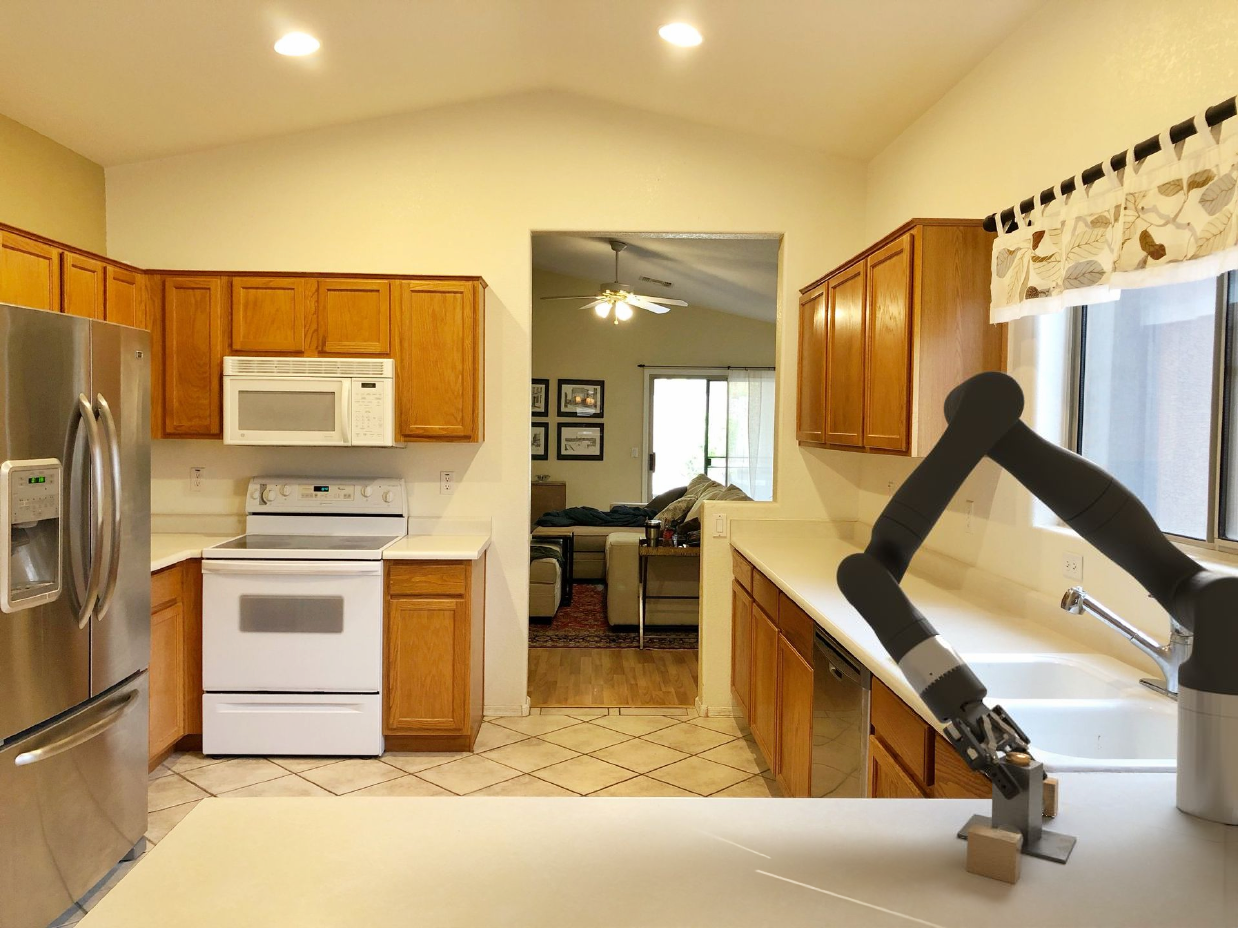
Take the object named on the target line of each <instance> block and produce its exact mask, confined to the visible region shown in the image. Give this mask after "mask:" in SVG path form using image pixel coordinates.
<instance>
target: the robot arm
mask: <svg viewBox="0 0 1238 928" xmlns="http://www.w3.org/2000/svg"><path fill="white" fill-rule="evenodd" d="M1025 403H1026V402H1025V394H1024V389H1023V388H1022V387H1021V385H1020V383H1019V382H1018V381H1017V380H1016V379H1015V378H1014V377H1013V376H1012V375H1010V374H1007V373H1006V372H1002V371H999V370H998V371H997V370H991V371H984V372H980V373H976V374H974V375H972V376H971V377H969V378H968V379H966V380H964V381H963V382H961V383H959V384H958V385H957V386H955V387H954V388H953V389H952V390H951V391H950V392H949V393H948V394H947V396H946V397H945V399H944V402H943V414H944V419H945V421H946V423H947V427H946V429H945V430H944V432H943V434H942V435H941V436H940V438H939V439H938V440H937V442H936V444H935V445H934V446H933V448H932V449H931V450H930V452H929V453H928V454H927V455H926V456H925V457H924V458H923V460H922V461H921V462H920V463H919V464H918V466H916V468H915V469H914V470H912V472H911V474H910V475H908V477H907V478H906V479H905V480H904V482H903V483H902V484H901V485H899V486H900V487H898V489H897V490H896V492H895V493H894V494H893V496H892V497H891V498H890V499H889V501H888V503H887V504H886V506H885V507H884V509H883V510H882V512H881V513H880V514H879V516H878V517H877V519H876V521H875V522H874V525H873V526H872V529H871V533H870V534H871V535H870V539H869V540H870V541H869V542H868V545H867V546H866V548H865V549H864V551H863V552H856V553H852V554H850V555H847V556H846V557H845V558H843V559H842V561H840V563H839V564H838V566H837V568H836V569H837V570H836V584H837V588H838V589H839V591H840V592H841V594H842V596H844V598H845V599H846V601H847V603H849V604H850V605H851V606H852V607H853V608H854V609H855V610H856V611H857V612H858V614H859V615H860V616H861V617H862V619H863V620H864V621H865V622H866V623H867V625H868V626H870V628H871V629H872V631H873V632H874V634H875V636H876V637H877V640H878V641H879V643H880V644H881V646H882V647H883V648H884V650H885V651H886V652H887V654H888V655H889V656H890V658H892V661H894V662H895V664H896V665H897V667H898V668H899V669H900V671H901V673H902V674H903V676H904V679H906V681H907V683H908V684H909V685H910V686H911V688H912V689H913V690H914V692H915V693H916V694H917V695H918V697H919V698H920V699H921V701H922V702H923V704H924V705H926V707H927V708H928V710H929V711H930V712H931V713H932V715H933V716H934V718H935V719H936V720H937V721H938V722H939V723H940V724H943V725H944V724H946V726H945V727H944V728H942V732H943V734H944V735H945V737H946V738H947V740H948V741H949V743H951V745H952V746H953V747H954V749H955V750H956V752H957V753H958V754H959V756H960V757H961V758H962V760H963V761H964V762H965V764H966V765H967V767H968V768H969V769H970V771H972V772H974V773H976V772H977V771H979V772H981V773H982V774H984V775H985V774H986V776H988V778H989V779H990V780H991V781H992V784H993V783H994V784H995V785H996V787H997V788H998V789H999V791H1000V792H1001V793H1002V794H1003V796H1004V797H1005V798H1006V799H1007V800H1011V799H1013V798H1014V797H1016V796H1017V795H1018V794H1020V793H1021V792H1022V788H1021V786H1020V785H1019V784H1018V783H1017V781H1016V780H1015V779H1014V778H1013V776H1012V775H1011V774H1010V773H1009V771H1008V770H1007V769H1006V767H1005V766H1004V765H1003V764H1002V763H1001V764H999V763H1000V760H999V758H1000V757H999V755H998V753H997V752H1002V753H1003V754H1004V755H1006V753H1007V752H1018V753H1023V754H1027V755H1029V756H1030V757H1031V760H1033V761H1037V759H1035V758H1034V756H1033V755H1032V754H1031V752H1029V750H1030V748H1029V746H1028V745H1030V744H1031V740H1030V737H1028V736H1027V735H1026V733H1025V732H1024V731H1023V730H1022V729H1021V727H1019V725H1018V724H1017V723H1016V722H1015V720H1013V718H1012V717H1011V716H1010V715H1009V713H1007V710H1005V709H1004V707H1003V706H1001V705H1000V704H996V705H995V706H993V707H991V708H989V707H988V706H987V705H986V704H985V703H984V700H983V699H984V698H986V697H987V695H988V689H987V687H986V686H985V685H984V684H983V682H982V681H981V680H980V679H979V678H978V676H977V675H976V674H975V672H973V670H972V669H971V668H970V667H969V666H968V664H967V663H966V662H965V661H964V660H963V658H962V657H961V656H960V655H959V654H958V652H957V651H956V650H955V649H954V647H952V646H951V644H950V643H948V642H947V641H946V640H945V639H944V638H943V637H942V636H941V635H940V633H939V632H938V631H937V630H936V628H935V627H934V625H932V624H931V622H930V621H929V620H928V618H927V617H926V616H924V614H923V613H922V612H921V611H920V610H919V609H918V607H916V606H915V605H914V604H913V603H912V602H911V600H910V599H909V598H908V596H907V595H906V592H904V591H903V589H902V587H901V586H900V583H901V582H902V580H903V579H904V576H905V574H906V572H907V570H908V567H909V566H910V563H911V561H912V559H913V557H914V555H915V554H916V552H917V551H918V550H919V549H920V547H921V545H922V544H923V543H924V541H925V540H926V539H927V537H928V536H929V534H930V533H931V531H932V530H933V528H934V526H935V525H936V524H937V522H938V520H939V519H940V518H941V516H942V514H944V512H945V510H946V508H947V507H948V505H949V504H950V503H951V501H952V500H953V498H954V496H956V494H957V492H958V491H959V489H960V487H962V485H963V484H964V482H965V481H966V479H967V478H968V477H969V475H970V474H971V473H972V472H973V470H974V469H975V468H976V466H977V465H978V464H979V463H981V460H982V459H983V458H984V457H985V456H986V457H988V458H989V459H991V460H992V461H993V462H995V463H996V464H998V465H999V466H1000V467H1001V468H1003V469H1005V471H1007V472H1008V473H1009V474H1010V475H1011V476H1012V477H1014V479H1016V480H1017V481H1018V482H1019V483H1020V484H1021V485H1022V486H1023V487H1025V489H1026V490H1028V491H1029V492H1030V493H1031V494H1032V495H1033V496H1034V497H1036V498H1037V499H1038V500H1039V501H1040V502H1042V504H1044V505H1045V506H1046V507H1047V508H1048V509H1050V511H1052V512H1053V513H1054V515H1055V516H1057V517H1058V518H1059V519H1060V520H1061V521H1063V522H1064V524H1066V525H1067V526H1069V528H1071V530H1073V531H1074V532H1075V533H1076V534H1078V536H1080V537H1081V538H1082V539H1084V541H1086V542H1088V543H1089V544H1090V545H1091V546H1092V547H1094V548H1095V549H1096V550H1097V551H1098V552H1100V553H1102V554H1103V555H1104V556H1105V557H1106V558H1108V559H1109V560H1110V561H1111V562H1113V563H1114V564H1115V565H1117V566H1118V567H1120V568H1121V569H1123V570H1124V571H1125V572H1126V573H1128V574H1129V575H1130V576H1131V577H1133V578H1134V579H1135V580H1136V581H1137V582H1138V583H1139V584H1140V585H1141V586H1142V587H1143V588H1144V589H1145V590H1146V592H1147V593H1149V595H1150V596H1152V598H1153V599H1155V601H1156V602H1157V603H1158V604H1159V605H1160V606H1161V607H1162V608H1163V609H1164V610H1165V611H1166V613H1168V615H1169V616H1170V617H1171V618H1172V619H1173V620H1174V621H1175V622H1176V623H1177V624H1178V625H1179V626H1181V627H1183V628H1184V629H1185V630H1187V631H1188V632H1191V633H1193V634H1192V645H1191V653H1190V656H1189V657H1188V659H1187V660H1185V661H1183V662H1181V663H1180V664H1179V665H1178V667H1177V703H1176V704H1177V714H1176V717H1177V724H1176V727H1177V729H1176V732H1177V733H1176V777H1175V778H1176V782H1175V783H1176V785H1175V787H1176V792H1175V797H1176V799H1175V805H1176V807H1177V809H1179V810H1180V811H1182V812H1184V813H1186V814H1188V815H1189V816H1193V817H1196V818H1198V819H1199V818H1200V819H1203V820H1206V821H1211V822H1216V823H1220V824H1227V825H1228V824H1229V825H1236V826H1238V576H1237V575H1232V574H1225V573H1219V572H1214V571H1212V570H1210V569H1208V568H1205V567H1204V566H1203V565H1201V564H1200V563H1198V562H1197V561H1195V560H1194V559H1193V558H1191V557H1190V556H1189V555H1187V554H1186V553H1185V552H1183V551H1182V550H1181V549H1179V547H1177V546H1175V544H1173V543H1172V541H1170V540H1169V539H1168V537H1167V536H1166V535H1165V534H1164V533H1163V531H1162V530H1161V529H1160V526H1158V523H1157V522H1156V520H1155V519H1154V517H1153V516H1152V515H1151V512H1150V511H1149V510H1148V508H1147V506H1145V504H1144V502H1142V501H1141V499H1140V498H1139V497H1138V496H1136V494H1134V493H1133V492H1132V490H1130V489H1129V488H1128V487H1127V486H1126V485H1125V484H1123V483H1122V482H1121V481H1119V479H1117V478H1116V477H1115V476H1114V475H1112V474H1111V473H1110V472H1109V471H1107V470H1106V469H1105V468H1103V467H1102V466H1100V465H1099V464H1098V463H1095V462H1093V461H1092V460H1090V459H1088V458H1086V457H1084V456H1082V455H1080V454H1078V453H1076V452H1074V451H1071V450H1070V449H1068V448H1065V447H1064V446H1063V447H1062V446H1061V445H1058V444H1057V443H1054V442H1052V441H1050V440H1048V439H1047V438H1044V437H1043V436H1042V435H1041V434H1039V433H1038V432H1037V431H1035V430H1034V429H1033V428H1031V427H1030V426H1029V425H1028V424H1027V423H1026V422H1025V421H1024V420H1023V419H1022V418H1021V416H1022V414H1023V411H1024V410H1025ZM998 764H999V765H998ZM1048 777H1049V776H1048V773H1047V772H1046V771H1045V770H1044V769H1043V781H1044V780H1046V779H1047V778H1048Z"/></svg>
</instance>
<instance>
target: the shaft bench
mask: <svg viewBox="0 0 1238 928" xmlns="http://www.w3.org/2000/svg"><path fill="white" fill-rule="evenodd" d="M1057 811H1058V812H1059V779H1058V778H1054V777H1049V776H1048V778H1047V779H1046V780H1044V781H1043V799H1042V814H1043V815H1047V816H1055V814H1056V813H1057ZM1057 814H1058V813H1057ZM1057 814H1056V815H1057ZM1043 815H1042V816H1043ZM1047 816H1046V817H1047ZM1055 817H1056V816H1055ZM957 836H958V837H957ZM956 837H957V838H960V837H964V838H966V839H965V840H967V842H966V843H967V849H966V851H967V853H966V872H968V873H972V874H974V875H975V874H976V875H980V876H984V877H987V878H991V879H994V880H998V881H1002V882H1005V883H1010V884H1013V885H1016V884H1017V882H1018V880H1019V878H1020V877H1021V871H1022V870H1021V867H1022V854H1024V855H1029V856H1033V857H1036V858H1042V859H1044V860H1048V861H1052V862H1056V863H1057V862H1058V863H1061V864H1066V862H1067V861H1068V859H1069V857H1070V855H1071V852H1072V850H1073V848H1074V846H1075V844H1076V843H1077V836H1072V835H1070V834H1069V835H1068V834H1064V833H1059V832H1054V831H1050V830H1045V829H1043V828H1042V837H1040V838H1039V839H1037V840H1036V841H1034V842H1033V843H1031V844H1030V845H1025V844H1023V836H1022V834H1021V832H1020V831H1019V829H1018V828H1016V827H1015V826H1013V825H1010V824H1003V825H1001V826H1000V827H999V828H998V829H994V828H992V817H991V816H986V815H981V814H977V813H974V814H973V815H972V816H971V817H970V818H969V819H968V820H967V821H966V823H965V824H964V825H963V826H962V828H960V829H959V831H958V832H957V833H956ZM964 838H963V839H964Z"/></svg>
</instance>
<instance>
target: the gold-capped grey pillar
mask: <svg viewBox="0 0 1238 928" xmlns="http://www.w3.org/2000/svg"><path fill="white" fill-rule="evenodd" d="M998 758H999V760H1000V763H999V764H1001V763H1002V764H1003V765H1004V766H1005V767H1006V769H1007V770H1008V771H1009V773H1010V774H1011V775H1012V776H1013V778H1014V779H1015V780H1016V781H1017V783H1018V784H1019V785H1020V786H1021V788H1022V792H1021V793H1020V794H1018V795H1017V796H1016V797H1014V798H1013V799H1011V800H1007V799H1006V798H1005V797H1004V796H1003V794H1002V793H1001V792H1000V791H999V789H998V788H997V787H996V785H995V784H994V783H993V782H992V785H991V786H992V787H991V788H992V790H991V791H992V793H991V818H992V828H994V829H998V828H999V827H1000V826H1001V825H1003V824H1010V825H1013V826H1015V827H1016V828H1018V829H1019V831H1020V832H1021V834H1022V836H1023V844H1025V845H1030V844H1031V843H1033V842H1034V841H1036V840H1037V839H1039V838H1040V837H1042V829H1043V815H1042V799H1043V770H1044V762H1040V761H1037V760H1036V761H1033V760H1031V757H1030V756H1029V755H1027V754H1023V753H1018V752H1007V753H1006V754H1004V755H1003V756H1000V757H998ZM999 764H998V765H999Z"/></svg>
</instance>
